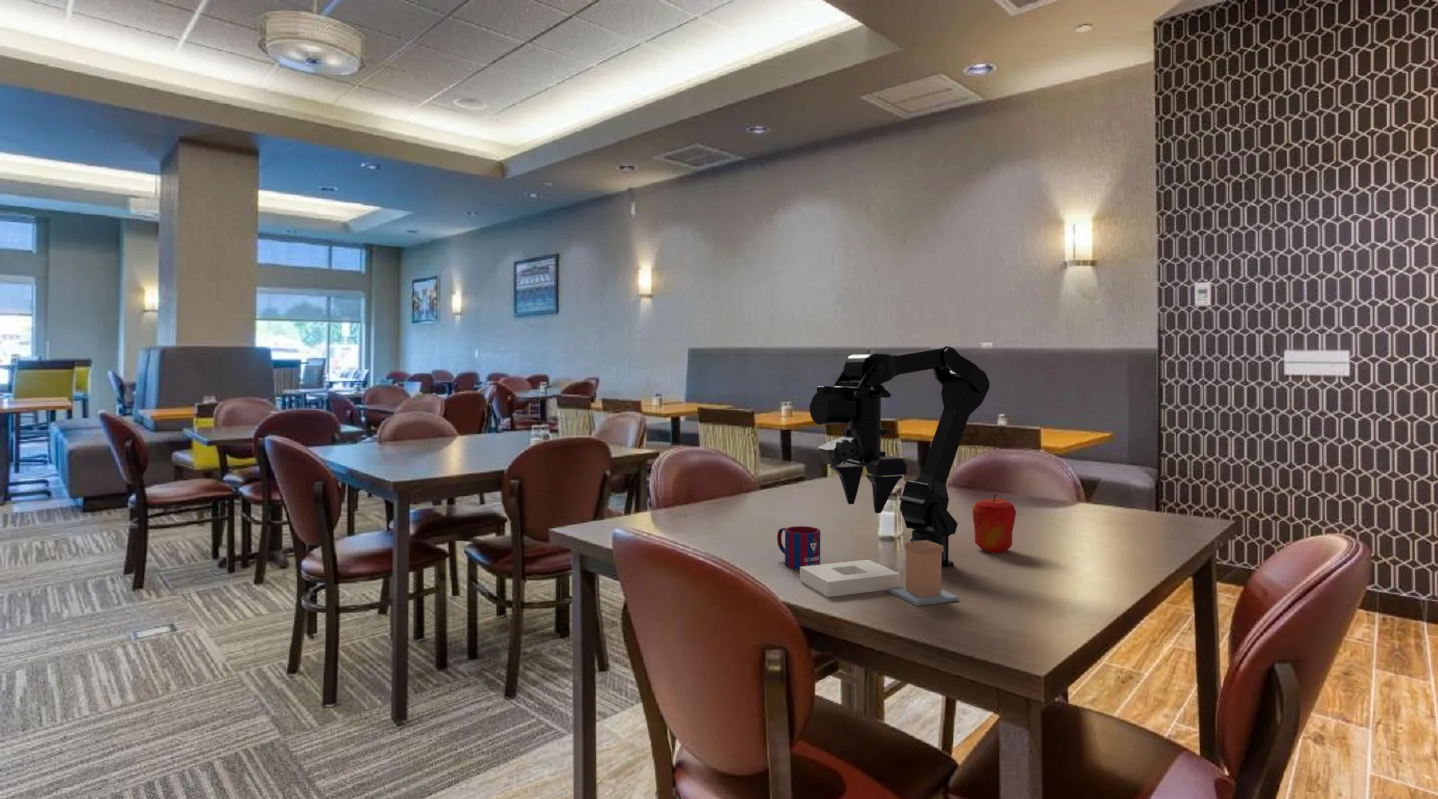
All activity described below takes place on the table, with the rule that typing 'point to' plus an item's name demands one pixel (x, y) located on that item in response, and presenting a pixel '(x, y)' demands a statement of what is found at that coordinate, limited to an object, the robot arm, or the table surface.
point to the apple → (993, 524)
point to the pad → (925, 600)
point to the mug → (800, 546)
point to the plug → (923, 568)
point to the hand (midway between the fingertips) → (864, 508)
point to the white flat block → (849, 577)
